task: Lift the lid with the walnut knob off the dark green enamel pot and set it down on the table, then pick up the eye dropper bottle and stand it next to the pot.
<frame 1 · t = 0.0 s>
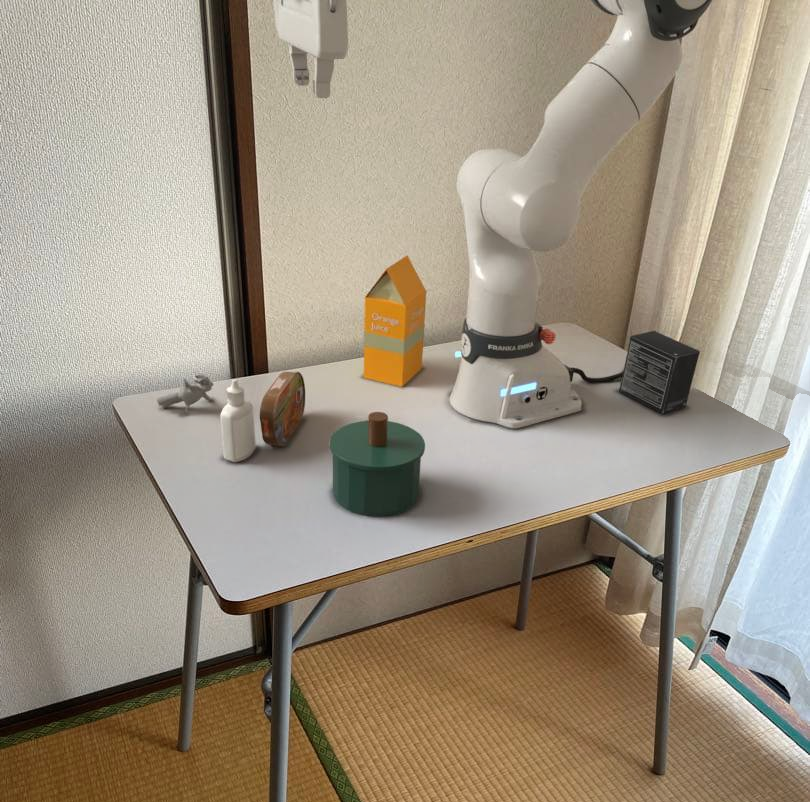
hand: (311, 90, 110), 48 cm above the table, tool pointing down, fingers open, 8 cm apart
tin: (284, 432, 136), on the table
grey creature figurine: (188, 412, 140), on the table
orange juice: (392, 374, 156), on the table
small box: (652, 400, 152), on the table
eye dropper bottle: (240, 455, 130), on the table
pot: (375, 492, 123), on the table
lid: (377, 446, 118), point 7 cm above the table, touching pot
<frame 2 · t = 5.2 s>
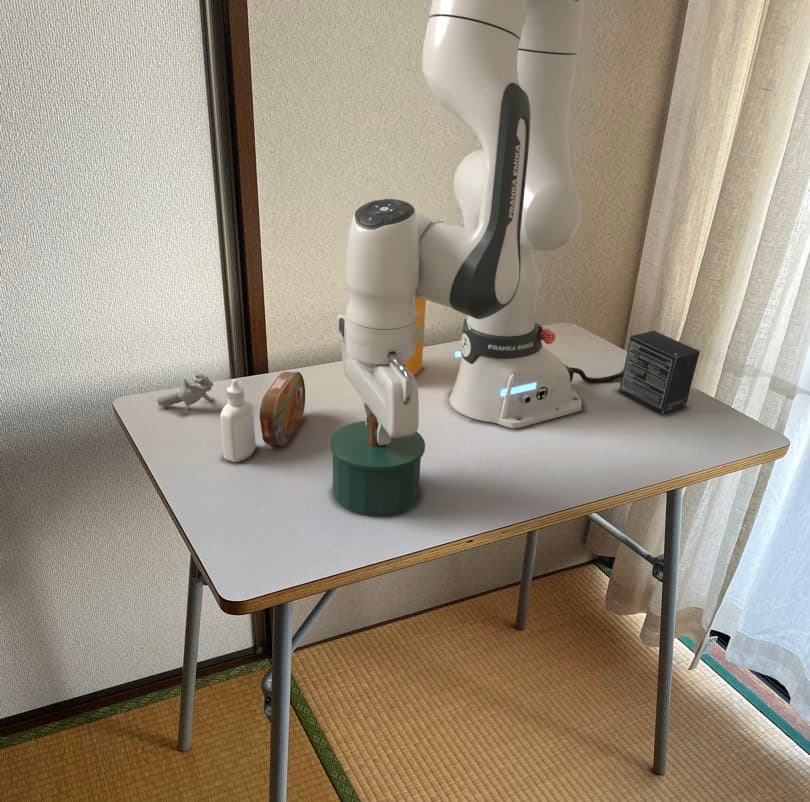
hand: (377, 435, 117), 9 cm above the table, tool pointing down, fingers closed on lid, 2 cm apart
lid: (377, 446, 118), point 8 cm above the table, touching gripper, pot
everything else where it was.
when the fingers open (2 cm above the table, at t = 11.3 s): lid stays where it is, point 1 cm above the table.
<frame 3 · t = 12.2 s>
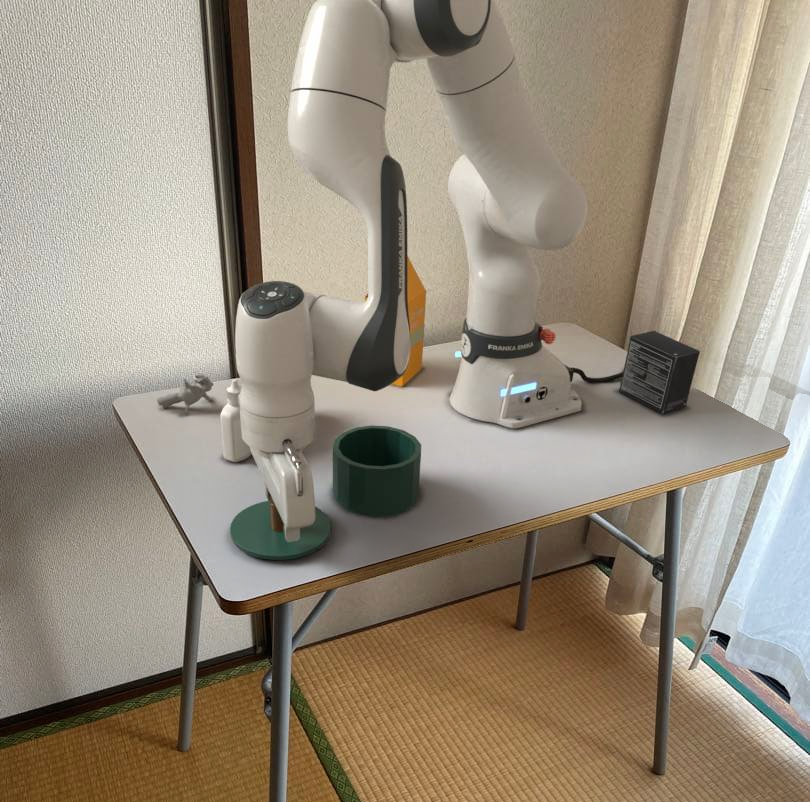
hand: (282, 518, 112), 2 cm above the table, tool pointing down, fingers open, 8 cm apart
lid: (281, 530, 113), point 1 cm above the table
everything else where it was.
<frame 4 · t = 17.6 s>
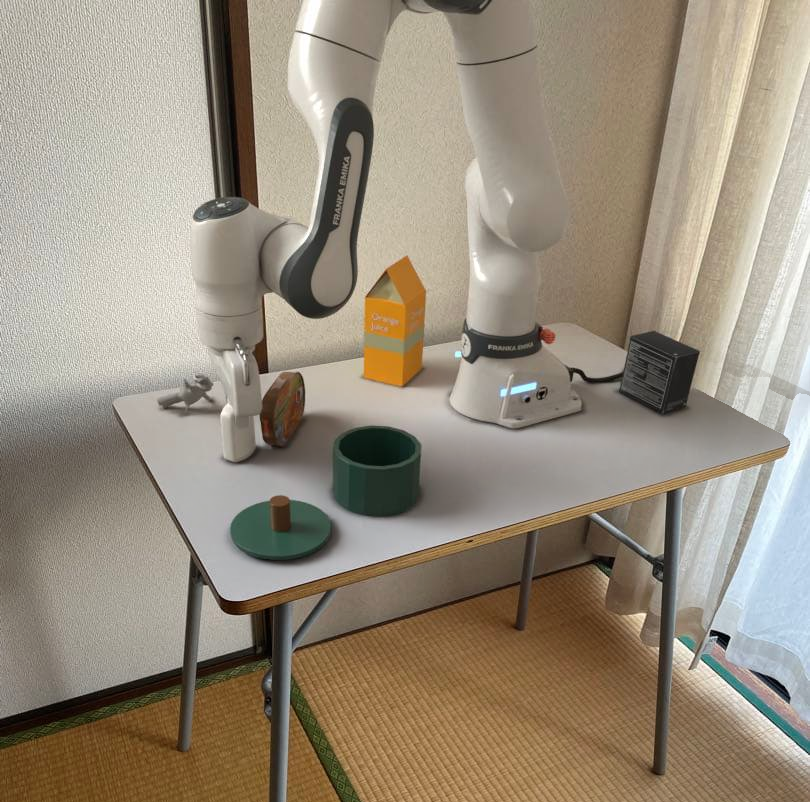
hand: (237, 416, 126), 6 cm above the table, tool pointing down, fingers closed on eye dropper bottle, 5 cm apart
eye dropper bottle: (240, 455, 130), on the table, touching gripper
everything else where it was.
when the fingers open (6 cm above the table, at t = 25.1 s): eye dropper bottle stays where it is, on the table.
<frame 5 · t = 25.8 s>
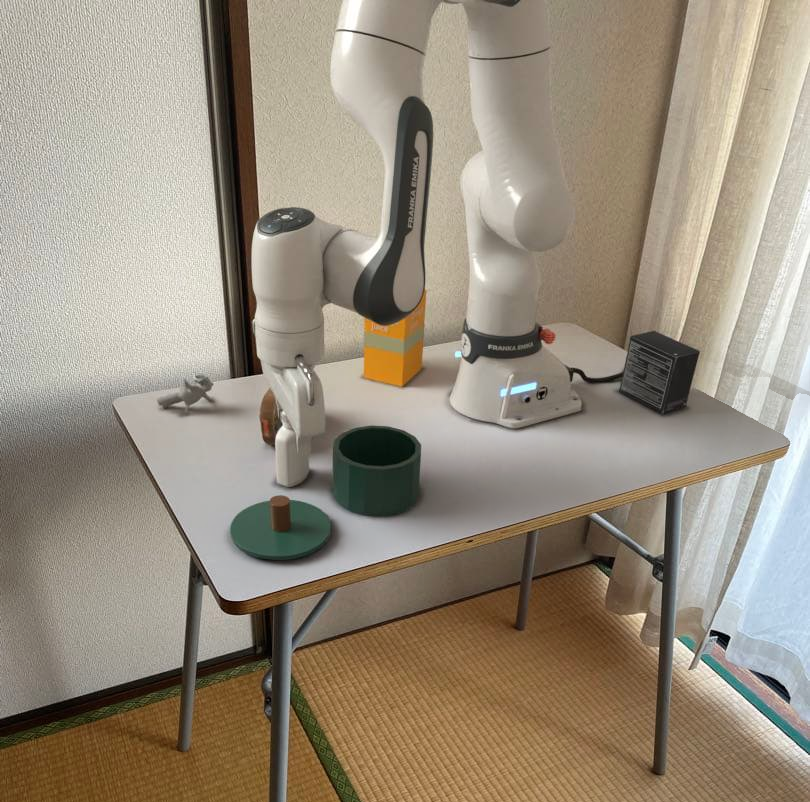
hand: (293, 435, 121), 7 cm above the table, tool pointing down, fingers open, 8 cm apart
eye dropper bottle: (293, 479, 125), on the table
everything else where it was.
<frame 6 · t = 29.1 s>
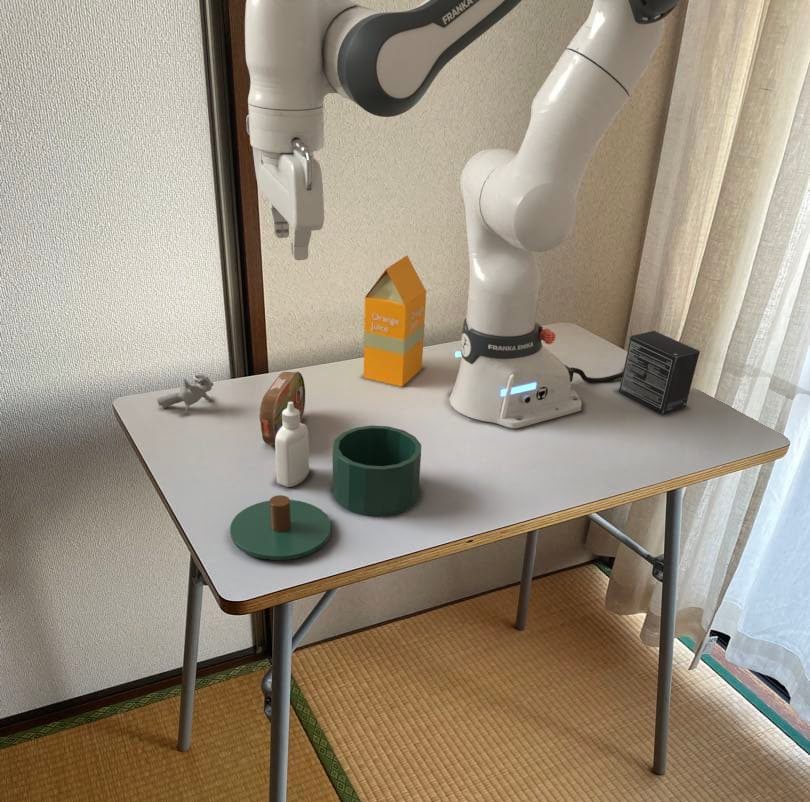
hand: (290, 247, 112), 31 cm above the table, tool pointing down, fingers open, 8 cm apart
nothing on the table moved.
at the end: lid inside the target area (0.2 cm from its centre), point 0.6 cm above the table; eye dropper bottle 12.4 cm from the pot (horizontally); eye dropper bottle tilted 0° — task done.
